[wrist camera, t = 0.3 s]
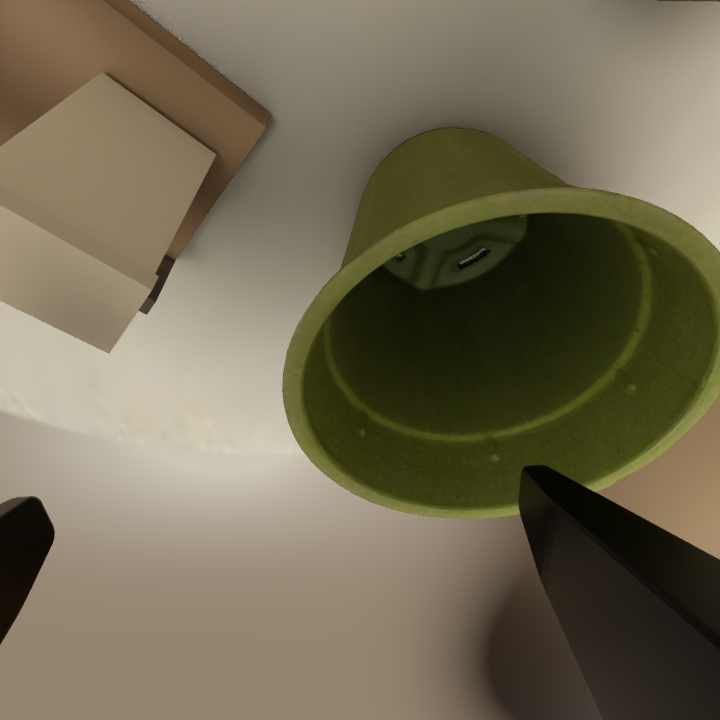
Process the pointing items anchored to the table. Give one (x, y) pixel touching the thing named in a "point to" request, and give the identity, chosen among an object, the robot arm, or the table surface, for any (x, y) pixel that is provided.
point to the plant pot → (500, 333)
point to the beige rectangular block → (93, 209)
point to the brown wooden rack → (124, 86)
